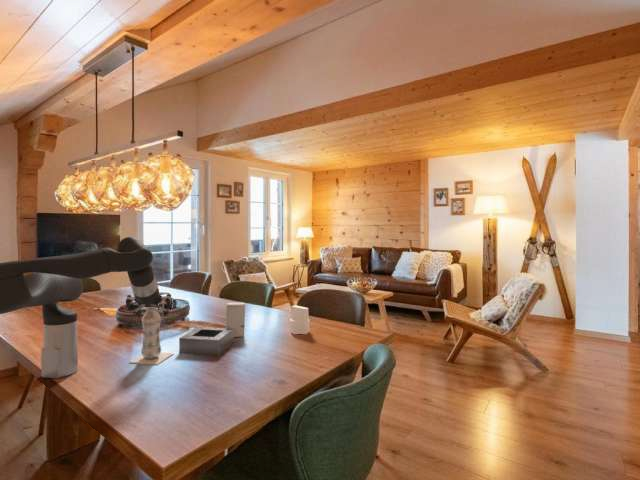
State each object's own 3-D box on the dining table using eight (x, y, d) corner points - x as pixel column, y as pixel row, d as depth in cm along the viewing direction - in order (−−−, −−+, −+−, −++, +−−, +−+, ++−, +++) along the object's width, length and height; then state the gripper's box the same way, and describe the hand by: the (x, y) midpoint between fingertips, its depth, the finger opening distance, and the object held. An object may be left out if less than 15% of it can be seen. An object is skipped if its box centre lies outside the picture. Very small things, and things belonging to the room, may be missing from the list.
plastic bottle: (153, 361, 132) (154, 307, 131) (137, 359, 134) (137, 305, 133) (164, 355, 139) (165, 303, 138) (148, 353, 140) (149, 302, 139)
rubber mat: (157, 364, 131) (157, 363, 131) (129, 363, 132) (129, 362, 132) (173, 354, 141) (173, 353, 141) (147, 352, 143) (147, 351, 143)
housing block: (218, 355, 141) (218, 340, 140) (179, 353, 143) (179, 338, 142) (233, 342, 157) (233, 328, 156) (198, 340, 159) (198, 326, 158)
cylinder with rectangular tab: (313, 332, 174) (313, 307, 173) (299, 336, 167) (299, 310, 166) (299, 328, 180) (299, 304, 179) (286, 332, 173) (286, 307, 172)
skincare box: (226, 338, 163) (226, 304, 162) (225, 334, 168) (225, 302, 168) (245, 336, 165) (245, 304, 165) (243, 332, 171) (244, 301, 170)
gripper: (118, 297, 115) (129, 324, 126) (166, 295, 118) (172, 322, 129) (123, 278, 120) (133, 306, 132) (169, 277, 123) (175, 305, 134)
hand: (153, 314), depth 130 cm, fingers open, 8 cm apart
